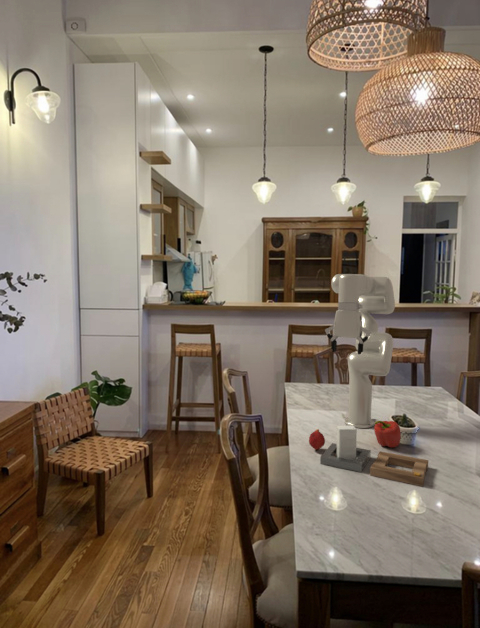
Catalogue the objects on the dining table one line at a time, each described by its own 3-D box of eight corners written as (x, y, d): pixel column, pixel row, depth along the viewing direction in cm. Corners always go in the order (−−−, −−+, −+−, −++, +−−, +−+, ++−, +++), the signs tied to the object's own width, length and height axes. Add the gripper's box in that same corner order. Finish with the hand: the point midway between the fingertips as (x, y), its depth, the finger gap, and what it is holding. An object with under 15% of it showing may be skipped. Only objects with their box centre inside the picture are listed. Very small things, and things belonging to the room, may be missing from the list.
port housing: (379, 458, 160) (379, 450, 160) (428, 467, 153) (428, 459, 152) (370, 475, 147) (370, 466, 146) (422, 486, 139) (423, 477, 139)
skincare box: (352, 457, 160) (353, 425, 159) (356, 462, 156) (357, 429, 155) (335, 458, 160) (336, 425, 159) (338, 463, 156) (339, 429, 155)
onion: (312, 453, 164) (313, 432, 163) (306, 447, 169) (306, 427, 168) (327, 452, 165) (327, 430, 164) (320, 446, 171) (320, 425, 170)
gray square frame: (332, 449, 167) (332, 443, 167) (370, 457, 161) (370, 450, 161) (320, 463, 155) (320, 456, 155) (361, 472, 149) (361, 465, 148)
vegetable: (381, 452, 165) (382, 425, 164) (366, 442, 175) (367, 416, 174) (407, 449, 168) (408, 423, 167) (391, 439, 178) (391, 414, 177)
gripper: (374, 307, 168) (372, 353, 169) (329, 306, 176) (327, 349, 177) (369, 308, 161) (367, 356, 162) (322, 306, 169) (321, 352, 171)
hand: (346, 352), depth 170 cm, fingers open, 9 cm apart
